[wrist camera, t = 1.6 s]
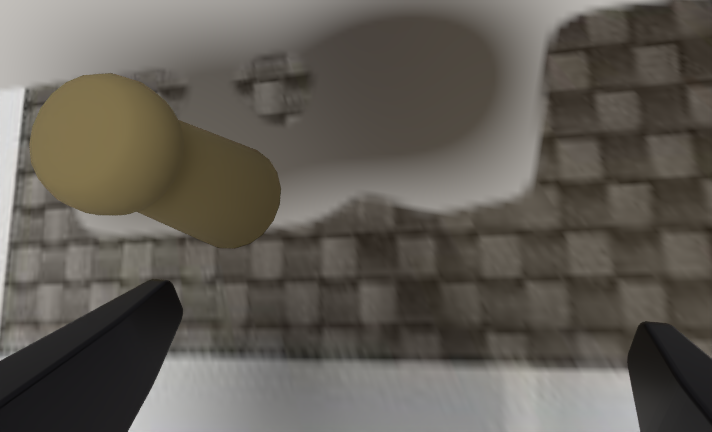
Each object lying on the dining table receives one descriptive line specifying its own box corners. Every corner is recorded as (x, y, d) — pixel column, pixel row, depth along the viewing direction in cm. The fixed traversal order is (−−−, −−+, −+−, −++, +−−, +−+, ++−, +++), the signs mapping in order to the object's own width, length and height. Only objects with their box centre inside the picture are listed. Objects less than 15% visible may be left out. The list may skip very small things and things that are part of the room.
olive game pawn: (198, 139, 26) (26, 38, 16) (291, 153, 25) (171, 52, 14) (173, 238, 26) (-25, 202, 15) (267, 258, 24) (122, 234, 14)
